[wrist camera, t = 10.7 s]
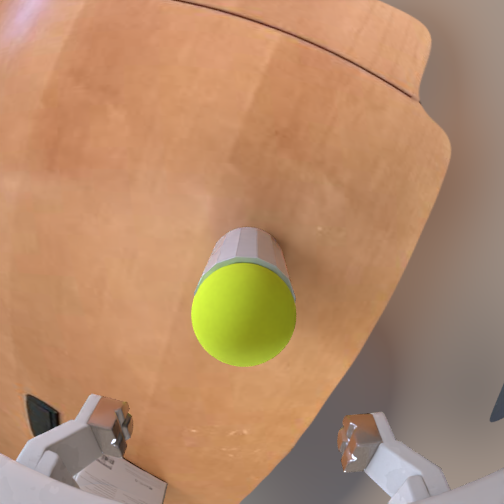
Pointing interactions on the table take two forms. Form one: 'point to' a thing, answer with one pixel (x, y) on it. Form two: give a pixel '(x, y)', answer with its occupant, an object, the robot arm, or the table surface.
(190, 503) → the table surface
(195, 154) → the table surface
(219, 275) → the tennis ball
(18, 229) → the table surface
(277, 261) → the cup
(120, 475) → the hard drive box
